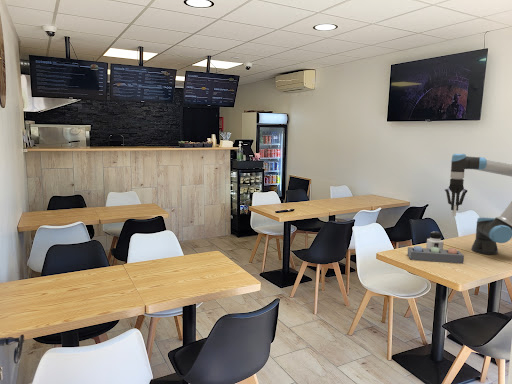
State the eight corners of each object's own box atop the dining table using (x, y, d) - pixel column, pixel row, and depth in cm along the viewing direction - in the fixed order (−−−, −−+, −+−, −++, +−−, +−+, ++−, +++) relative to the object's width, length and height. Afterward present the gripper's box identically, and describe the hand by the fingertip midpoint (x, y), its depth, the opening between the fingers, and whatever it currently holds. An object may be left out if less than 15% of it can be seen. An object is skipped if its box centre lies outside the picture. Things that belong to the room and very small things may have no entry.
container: (442, 253, 250) (444, 233, 248) (431, 253, 250) (432, 233, 248) (437, 249, 257) (439, 231, 256) (426, 249, 257) (427, 230, 256)
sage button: (437, 255, 239) (438, 247, 238) (439, 257, 234) (440, 249, 233) (429, 254, 240) (430, 246, 239) (431, 256, 235) (431, 248, 234)
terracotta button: (455, 256, 236) (455, 248, 236) (457, 258, 232) (458, 250, 231) (446, 255, 237) (447, 247, 237) (448, 257, 233) (449, 250, 232)
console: (457, 258, 239) (458, 250, 238) (463, 263, 228) (464, 255, 228) (407, 254, 246) (407, 247, 245) (410, 259, 235) (410, 252, 234)
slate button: (420, 253, 241) (421, 246, 240) (422, 256, 236) (422, 248, 235) (412, 253, 242) (413, 245, 241) (414, 255, 237) (414, 247, 236)
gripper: (466, 178, 240) (463, 214, 243) (444, 177, 242) (441, 213, 246) (470, 179, 232) (467, 217, 236) (447, 178, 235) (444, 216, 238)
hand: (454, 215), depth 241 cm, fingers closed
